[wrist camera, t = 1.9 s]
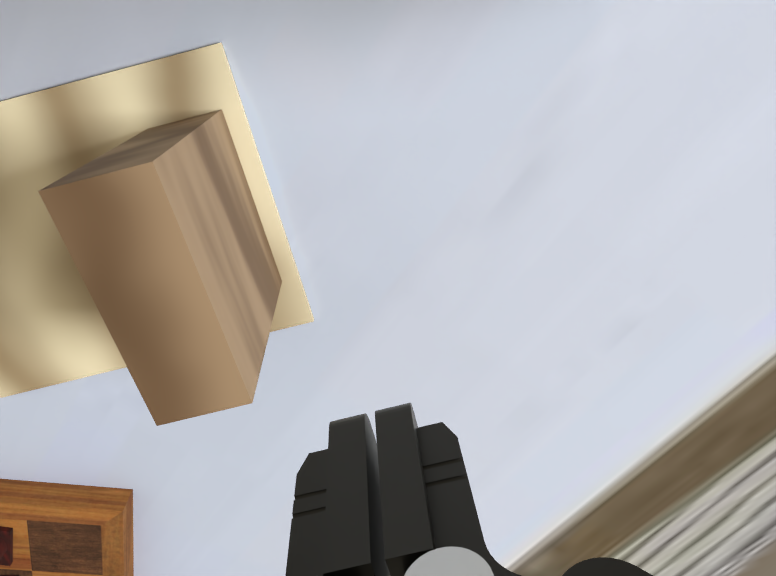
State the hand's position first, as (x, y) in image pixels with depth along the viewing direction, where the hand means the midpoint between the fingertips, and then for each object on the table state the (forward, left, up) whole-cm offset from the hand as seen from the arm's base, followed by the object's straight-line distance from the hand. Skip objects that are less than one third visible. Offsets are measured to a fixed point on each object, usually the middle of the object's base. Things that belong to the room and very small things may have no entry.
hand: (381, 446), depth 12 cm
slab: (+8, 0, -23) cm, 24 cm away
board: (+15, 0, -23) cm, 27 cm away
